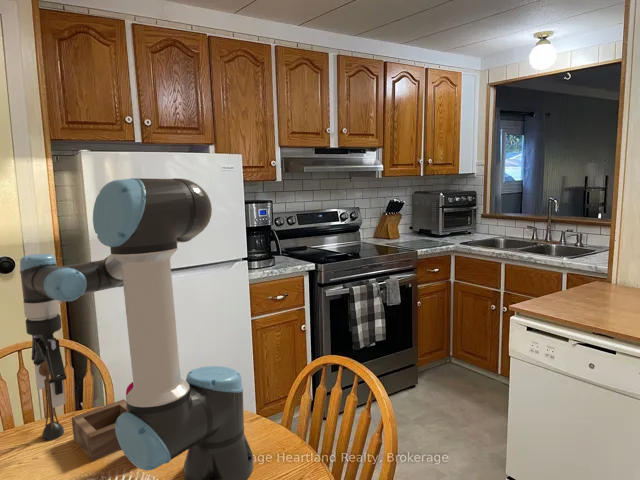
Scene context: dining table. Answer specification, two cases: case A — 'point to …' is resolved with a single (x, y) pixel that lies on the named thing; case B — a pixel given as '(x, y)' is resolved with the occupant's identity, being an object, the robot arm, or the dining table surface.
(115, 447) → the box
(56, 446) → the dining table surface
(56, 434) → the wooden tabletop sculpture
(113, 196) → the robot arm
